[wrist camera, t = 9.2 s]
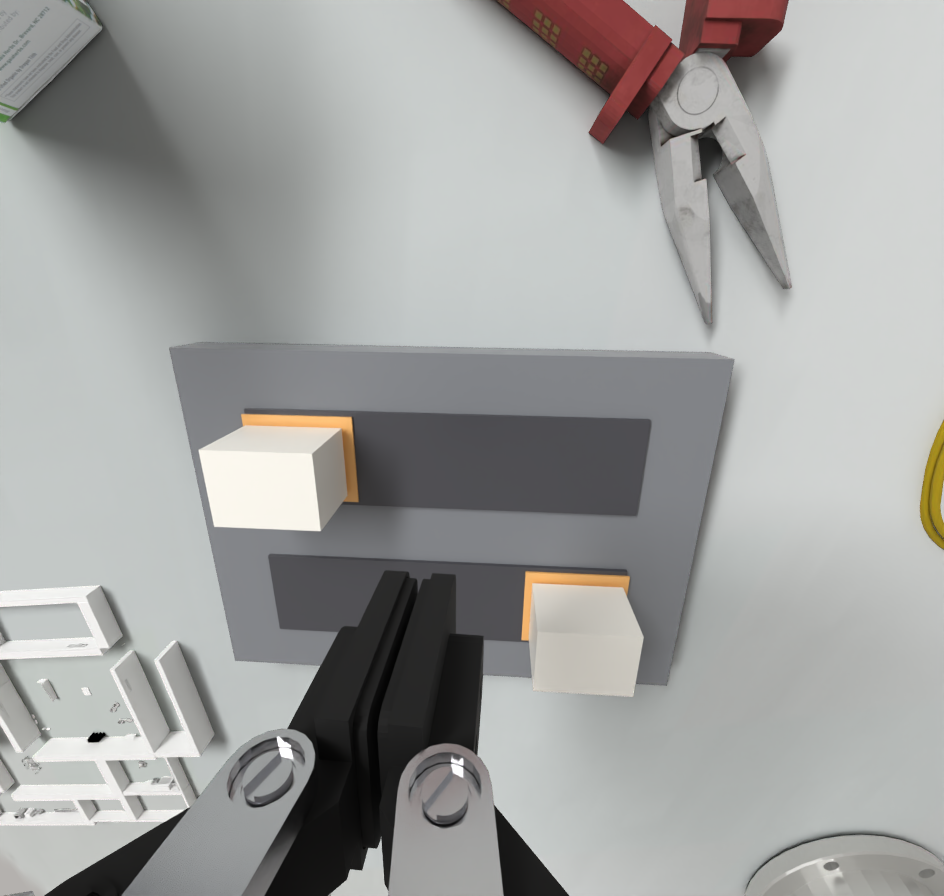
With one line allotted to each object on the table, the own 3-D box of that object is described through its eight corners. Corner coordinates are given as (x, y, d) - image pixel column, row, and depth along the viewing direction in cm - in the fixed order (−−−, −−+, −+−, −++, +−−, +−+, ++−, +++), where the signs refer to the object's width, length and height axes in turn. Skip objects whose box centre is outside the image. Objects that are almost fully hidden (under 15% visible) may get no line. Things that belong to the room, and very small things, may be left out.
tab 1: (341, 428, 18) (311, 453, 15) (347, 495, 19) (321, 531, 16) (245, 425, 18) (198, 450, 15) (256, 492, 19) (214, 526, 16)
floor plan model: (120, 476, 23) (87, 493, 21) (251, 805, 31) (235, 838, 29) (-193, 501, 24) (-250, 519, 23) (9, 807, 33) (-20, 839, 31)
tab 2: (623, 587, 20) (643, 637, 17) (614, 641, 21) (633, 696, 18) (532, 583, 20) (537, 631, 17) (528, 636, 21) (532, 690, 18)
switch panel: (710, 352, 19) (738, 360, 16) (653, 654, 24) (668, 690, 22) (200, 342, 20) (163, 348, 17) (255, 632, 25) (231, 665, 23)
